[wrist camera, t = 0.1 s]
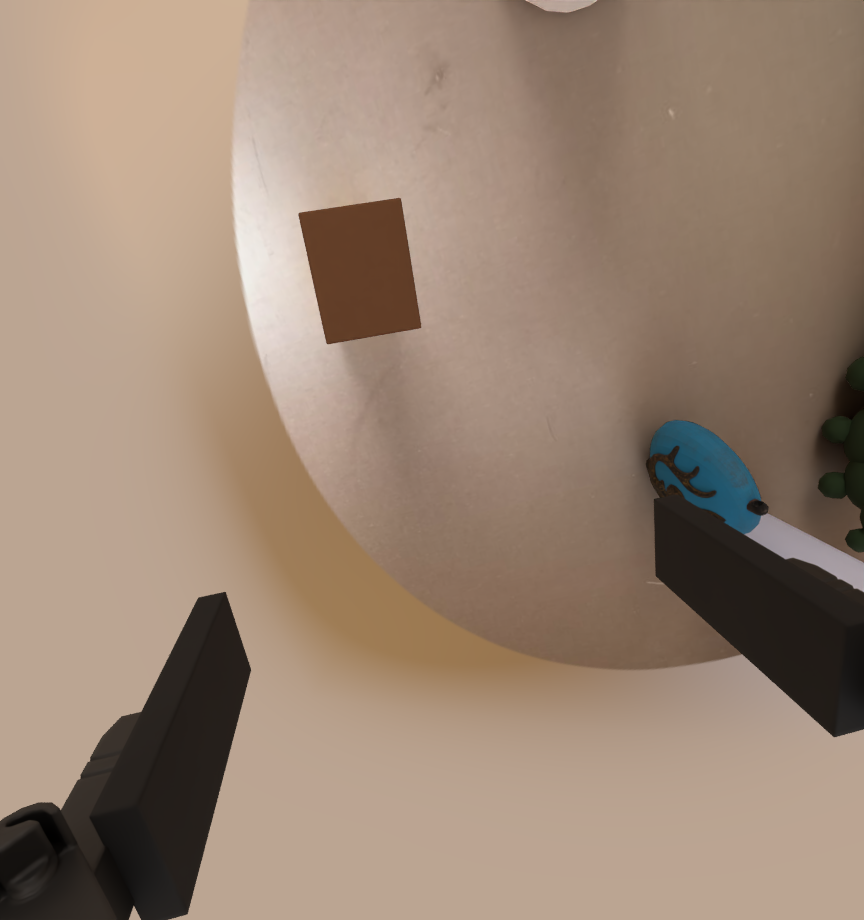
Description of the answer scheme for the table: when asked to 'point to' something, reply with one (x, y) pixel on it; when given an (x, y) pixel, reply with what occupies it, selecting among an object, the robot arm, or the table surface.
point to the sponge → (361, 269)
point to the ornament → (704, 474)
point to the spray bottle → (807, 549)
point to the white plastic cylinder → (561, 4)
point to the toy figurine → (860, 448)
